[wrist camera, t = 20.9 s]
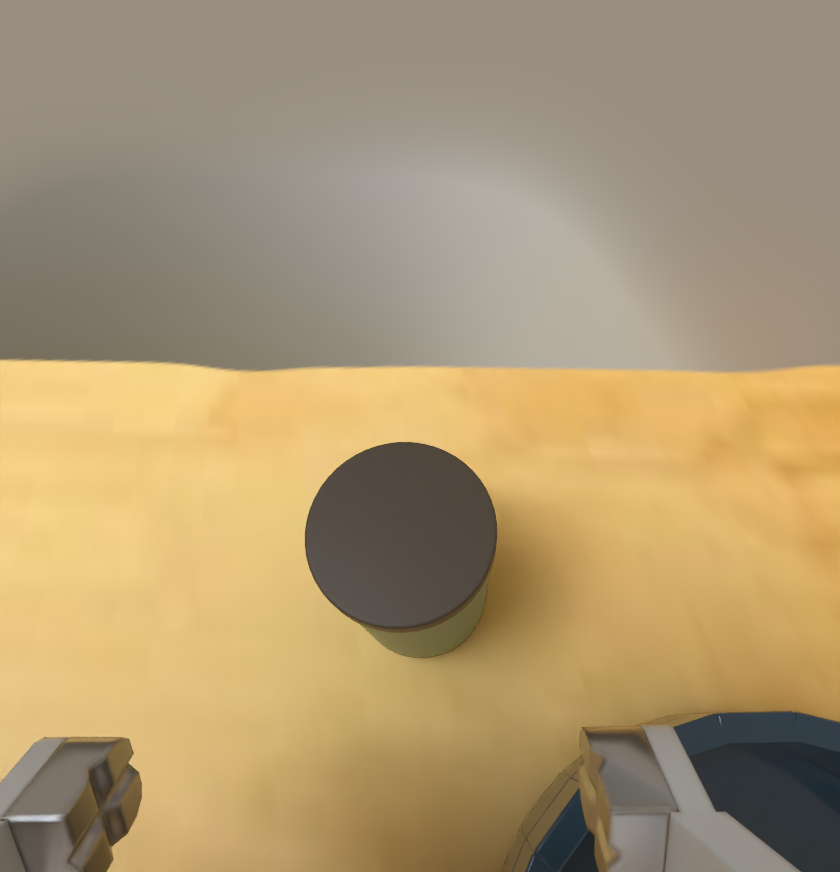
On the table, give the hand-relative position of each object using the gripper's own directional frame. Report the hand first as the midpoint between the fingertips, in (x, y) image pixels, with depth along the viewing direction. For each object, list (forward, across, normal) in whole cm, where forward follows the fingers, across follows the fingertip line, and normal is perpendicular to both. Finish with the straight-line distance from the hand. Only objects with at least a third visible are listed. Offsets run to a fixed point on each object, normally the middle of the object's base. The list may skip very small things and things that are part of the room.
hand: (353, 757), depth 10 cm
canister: (+12, -1, +4) cm, 13 cm away
